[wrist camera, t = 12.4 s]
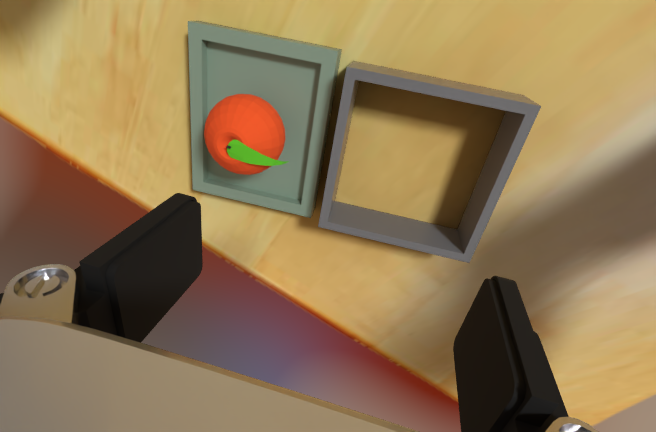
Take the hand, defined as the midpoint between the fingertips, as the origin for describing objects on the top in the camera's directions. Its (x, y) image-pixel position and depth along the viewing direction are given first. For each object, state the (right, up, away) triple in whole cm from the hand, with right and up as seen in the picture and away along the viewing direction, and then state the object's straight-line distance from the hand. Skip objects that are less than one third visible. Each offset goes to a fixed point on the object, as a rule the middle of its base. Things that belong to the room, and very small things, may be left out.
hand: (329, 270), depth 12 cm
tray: (-6, +11, +24) cm, 27 cm away
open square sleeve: (+8, +7, +23) cm, 25 cm away
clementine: (-6, +10, +23) cm, 26 cm away
